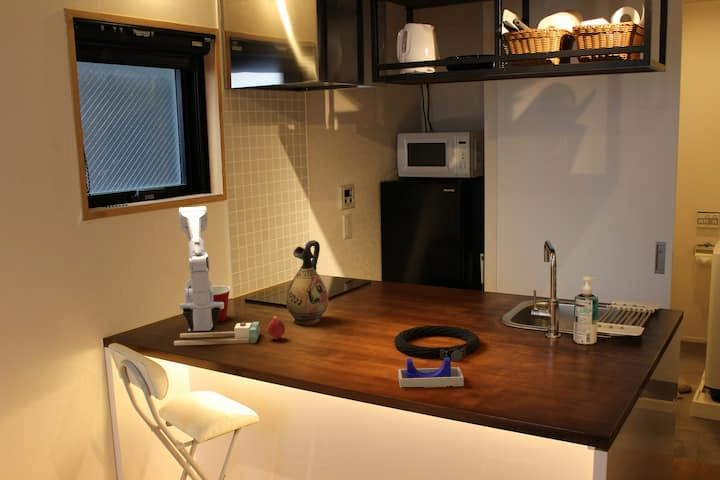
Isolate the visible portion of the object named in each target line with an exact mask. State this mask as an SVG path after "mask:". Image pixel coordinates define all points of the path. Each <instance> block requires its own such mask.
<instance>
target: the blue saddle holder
mask: <svg viewBox="0 0 720 480" xmlns="http://www.w3.org/2000/svg"><path fill="white" fill-rule="evenodd" d="M442 361H443V362H442V364H441V365H440V367H438V368H439V369H438V370H437V371H435V372H433V373H423V372H420V371H418V370H417V369H418V368H416V366H415V365H414V362H413V358H406V369H407V378H436V377H444V376H446V377H451V367H452V366H451V365H452V362H451V360H450V358H449V357H444V360H442ZM407 378H406V379H407Z"/></svg>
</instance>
